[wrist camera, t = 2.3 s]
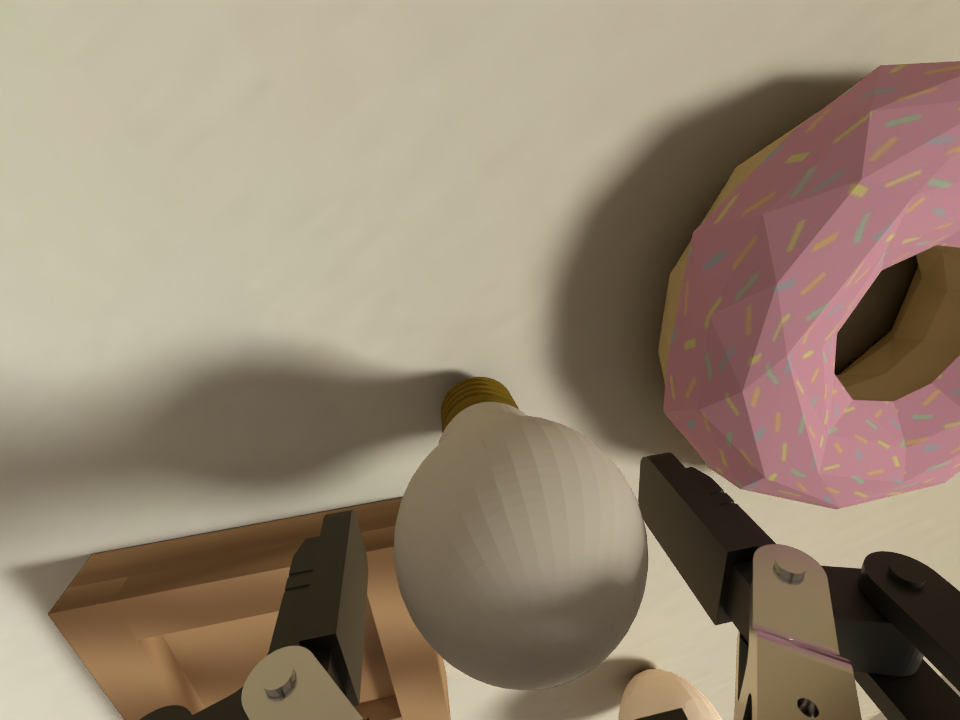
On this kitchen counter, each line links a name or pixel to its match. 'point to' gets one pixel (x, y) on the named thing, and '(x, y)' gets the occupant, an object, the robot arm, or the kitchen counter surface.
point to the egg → (663, 697)
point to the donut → (827, 301)
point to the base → (236, 619)
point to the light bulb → (518, 545)
